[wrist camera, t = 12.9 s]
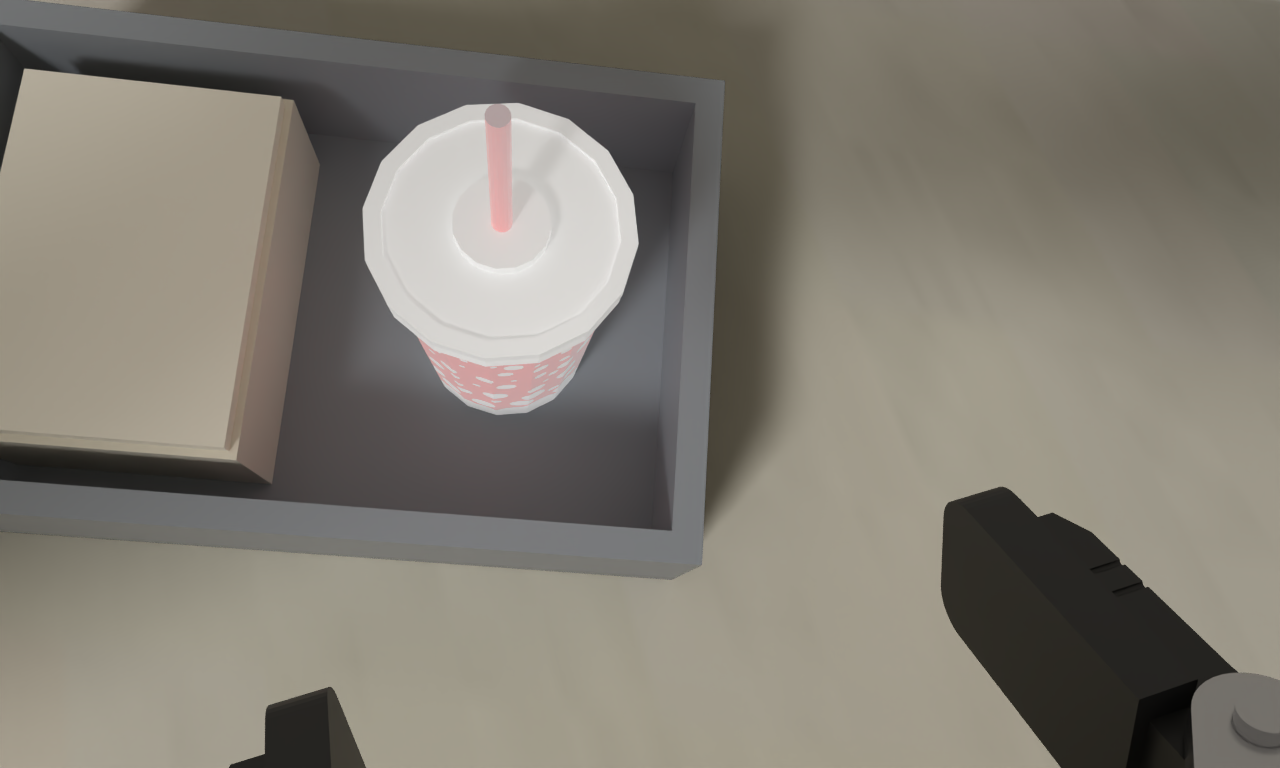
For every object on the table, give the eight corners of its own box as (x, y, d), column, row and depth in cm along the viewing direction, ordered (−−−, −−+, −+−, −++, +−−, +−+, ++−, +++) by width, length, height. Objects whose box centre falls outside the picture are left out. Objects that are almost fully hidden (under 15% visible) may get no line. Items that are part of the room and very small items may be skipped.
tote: (-48, 527, 30) (-168, 501, 25) (48, 96, 34) (-39, -8, 28) (671, 579, 32) (701, 565, 27) (694, 166, 36) (725, 80, 30)
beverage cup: (468, 212, 33) (435, -92, 20) (641, 305, 33) (727, 64, 20) (363, 378, 32) (249, 171, 18) (545, 477, 31) (566, 342, 18)
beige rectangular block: (16, 464, 30) (-70, 432, 26) (84, 139, 32) (18, 60, 28) (271, 484, 31) (230, 456, 26) (319, 164, 33) (290, 90, 29)
